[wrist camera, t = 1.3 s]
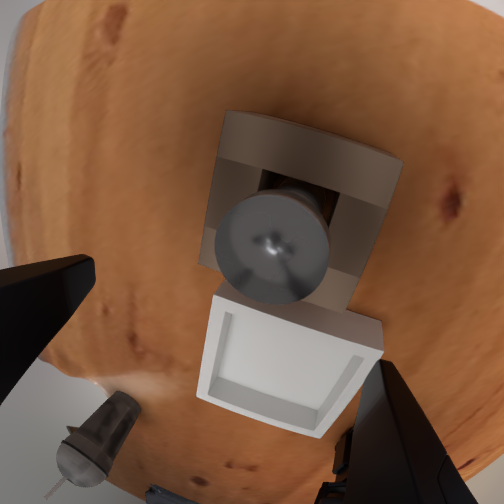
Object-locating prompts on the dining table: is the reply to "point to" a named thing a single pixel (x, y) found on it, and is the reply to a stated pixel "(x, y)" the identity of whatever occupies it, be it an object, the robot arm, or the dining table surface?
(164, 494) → the grey stepped plate
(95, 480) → the beverage cup
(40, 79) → the dining table surface
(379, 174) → the block
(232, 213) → the lock pin
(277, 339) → the tray
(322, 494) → the robot arm
